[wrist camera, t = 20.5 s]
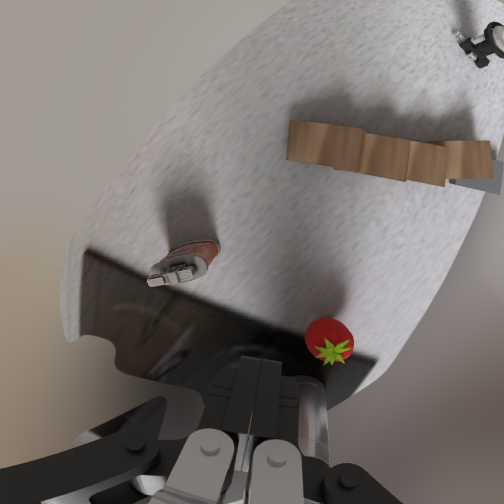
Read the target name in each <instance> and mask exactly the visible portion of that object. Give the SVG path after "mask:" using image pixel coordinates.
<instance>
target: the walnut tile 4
mask: <svg viewBox="0 0 504 504" xmlns="http://www.w3.org/2000/svg"><path fill="white" fill-rule="evenodd" d="M429 144H433V145H438V146H443V147H448V157H447V169H446V179H494V177H493V165H492V155H491V146H490V141H429Z"/></svg>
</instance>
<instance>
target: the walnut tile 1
mask: <svg viewBox="0 0 504 504" xmlns="http://www.w3.org/2000/svg"><path fill="white" fill-rule="evenodd" d="M366 132H367V131H365V130H364V129H362V128H356V127H349V126H341V125H333V124H324V123H315V122H304V121H292V120H291V121H290V131H289V140H288V150H287V159H286V160H293V161H299V162H306V163H312V164H319V165H325V166H331V167H336V168H342V169H347V170H353V171H361V172H362V165H363V157H364V149H365V141H366Z"/></svg>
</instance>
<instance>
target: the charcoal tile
mask: <svg viewBox="0 0 504 504" xmlns="http://www.w3.org/2000/svg"><path fill="white" fill-rule="evenodd" d="M492 165H493V177H494V179H450V181H449V183H451V184H455V185H459V186H464V187H468V188H473V189H477V190H482V191H486V192H490V193H494V194H498V195H500V188H501V181H502V172H503V162H500V161H497V160H494V159H492Z"/></svg>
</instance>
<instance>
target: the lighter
mask: <svg viewBox="0 0 504 504" xmlns="http://www.w3.org/2000/svg"><path fill="white" fill-rule="evenodd" d="M219 253H220V245H219V243H218V242H217V241H216V240H215V239H200V240H194V241H189V242H186V243H183V244H181V245H179V246H176V247H174V248H173V249H171V250H170V251H169V253H168V255H167V256H166V257H165V258H163V259H162V260H161V261H160V262H159V263H157V264H155V265H153V266H152V267H151V268H150V271H149V274H150V277H149V278H148V279H147V282H148V284H149V286H151V287H153V286H158V285H177V284H180V283H184V282H188V281H192V280H194V279H197V278H199V277H201V276H203V275H205V273H206V272H207V270H208V266H209V265H210V263H211V262H212V261H213V259H214V258H215V257H217V256H218V254H219Z"/></svg>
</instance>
